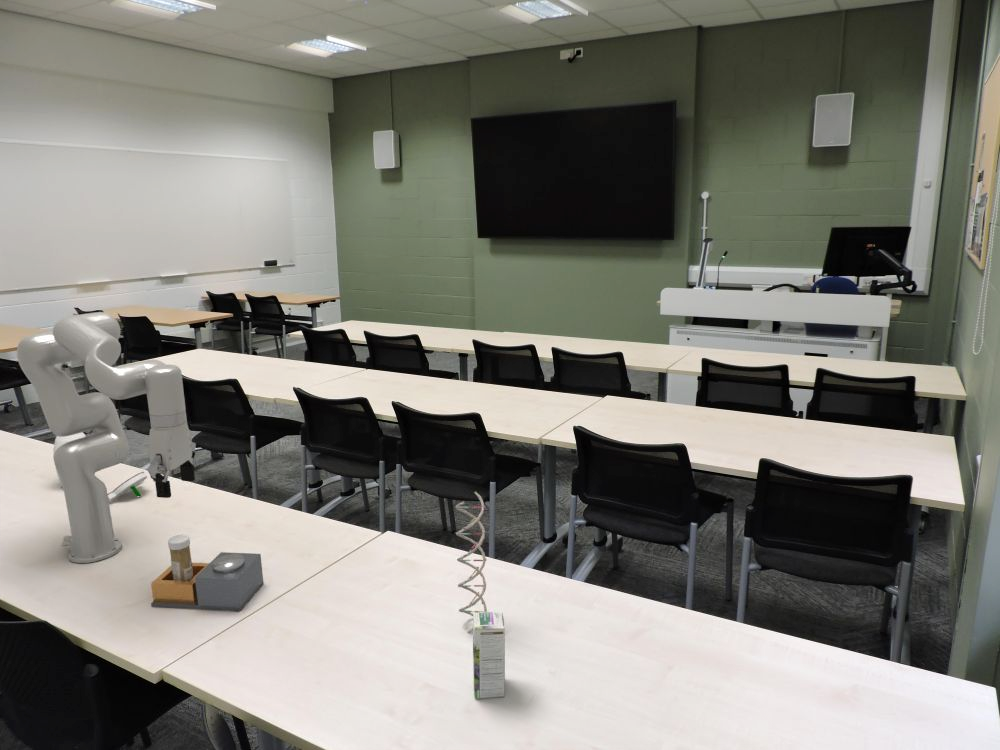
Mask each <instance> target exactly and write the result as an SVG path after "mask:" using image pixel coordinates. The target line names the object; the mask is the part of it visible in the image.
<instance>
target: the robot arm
mask: <svg viewBox="0 0 1000 750" xmlns="http://www.w3.org/2000/svg"><path fill="white" fill-rule="evenodd" d="M121 333H122V332H121V327H120V324H119V322H118V320H117V318H115V317H114V316H113V315H112V314H111V313H108V312H104V311H97V312H95V311H94V312H89V313H88V312H87V313H82V314H73V315H69V316H65V317H63V318H61V319H59V320H57V322H56V323H55V324H54V326H53V328H52V330H48V331H42V332H37V333H33V334H30V335H27V336H25V337H23V338H22V339H21V340H20V341H19V342H18V344H17V346H16V347H17V348H16V357H17V361H18V365H19V367H20V369H21V370H22V372H23V373H24V375H25V377H26V378H27V380H28V381H29V382H30V383H31V385H32V387H33V388H34V390H35V394H36V396H37V399H38V403H39V405H40V407H41V410H42V413H43V416H44V418H45V421H46V423H47V425H48V428H49V430H50V431H51V434H54V436H56V437H57V436H59V437H65V436H70V435H74V434H78V433H81V432H83V433H85V432H88V431H92V430H95V431H96V433H94V434H91V435H87V436H86V435H85V436H86V437H83V438H79V439H76V440H73V441H70V442H67V443H65V444H63V445H61V446H60V447H59V448H58V449H57V450H56V451H55V454H54V458H53V462H54V466H56V467H55V469H56V468H57V471H58V473H59V476H60V478H61V482H62V485H63V488H62V489H63V493H64V499H65V503H66V504H65V505H66V511H67V516H68V522H69V527H70V533H71V534H70V535H69V534H68V535H64V536H63V538H62V541H61V544H60V545H61V547H69V549H70V550H69V551H68V553H67V557H68V560H69V561H70V562H72V563H75V564H76V563H77V564H89V563H94V562H99V561H102V560H105V559H108V558H110V557H112V556H115V555H116V554H117V553H118V552H120V551H121V549H122V548H123V542H122V541H121V540H120V539H118V538H116V537H115V533H114V527H113V521H112V520H113V519H112V515H111V514H112V513H111V508H110V501H109V500H108V488H107V485H106V484H105V483H104V482H103V481H102V480H101V479H100V478H98V477H97V476H96V474H95V473H97V472H100V471H102V470H105V469H108V468H112V467H114V466H116V465H119V464H121V463H124V462H125V461H126V460H127V459H128V457H129V454H130V448H129V442H128V439H127V437H126V434H125V430H124V428H123V425H122V422H121V420H120V417H119V413H118V411H117V409H116V406H115V404H114V402H113V400H116V401H117V400H127V399H130V398H134V397H138V396H141V395H142V396H143V395H146V398H147V399H146V400H147V405H148V406H147V407H148V413H149V420H150V421H149V423H150V427H151V428H150V429H149V435H148V449H149V451H148V452H149V455H148V456H149V465H148V467H147V473H148V474H149V475H150V478H151V479H152V482H154V483H155V493H156V497H157V498H161V499H163V498H165V499H170V498H171V497H172V491H171V482H170V480H168V479H169V475H170V472H171V471H173V470H175V469H177V468H178V467H179V470H180V478H181V481H183V482H194V481H195V480H196V476H195V468H194V464H195V456H196V447H197V446H196V445H197V443H196V442H193V441H192V439H191V433H190V429H189V425H188V420H187V413H186V412H187V411H186V402H185V401H186V399H185V394H184V383H183V377H182V370H181V368H180V367H179V366H178V365H176V364H166V363H164V362H163V361H161V360H158V359H146V360H141V361H137V362H131V363H126V364H125V363H124V364H122V365H117V366H116V365H115V366H113V365H114V364H115V363H116V362H117V361H118V359H119V357H120V356H121V353H122V347H121V343H120V342H119V341H120V340H119V339H120V337H121ZM75 361H83V363H84V373H85V375H86V378H87V380H88V382H89V383H90V386H92V387H93V389H95V390H97V391H98V392H96V391H95V392H89V393H84V394H82V395H81V394H79V393H78V391H77V388H76V386H75V383H74V381H73V379H72V377H70V375H69V374H67V373H66V372H65V371H64V370H62V369H61V368H59V367H57V366H55V365H59V364H65V363H69V362H75ZM111 399H112V400H111ZM57 471H56V472H57ZM162 472H163V475H162V474H161V473H162Z"/></svg>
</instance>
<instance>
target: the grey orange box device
mask: <svg viewBox="0 0 1000 750" xmlns="http://www.w3.org/2000/svg"><path fill="white" fill-rule="evenodd" d="M262 566H263V563H262V556H261V553H250V552H249V553H247V552H246V553H245V552H224V551H223V552H222V551H221V552H220V553H219V554H217V555H216V556H215V557H214V558H213V560H211V561H210V562H192V568H193V578H192V579H191V580H190V581H174V580H173V573H172V565H171V564H170V565H169V566H168V567H167V569H165V570H164V571H163V572H162V573H161V574H159V575H158V576H157V577H156V578H155V579H154V580H153V581H151V583H150V588H151V593H152V599H153V601H151V602H150V606H151V608H162V609H163V608H164V609H165V608H166V609H183V610H184V609H186V610H204V611H209V610H210V611H222V612H223V611H225V612H226V611H229V612H241V611H242V610H243V609H244V608H245V607H246V605H248V604H249V602H251V600H250V599H252V598H253V597H254V596H255V595H256V594H257V592H258V591H260V589H261V588H262V587H263V586H264V584H265V583H264V574H263V567H262ZM260 587H261V588H260ZM255 593H256V594H255ZM254 594H255V595H254Z"/></svg>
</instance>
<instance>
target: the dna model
mask: <svg viewBox="0 0 1000 750" xmlns="http://www.w3.org/2000/svg"><path fill="white" fill-rule="evenodd" d="M474 494H475V495H476V497H477V498H478V500H479V502H480V504H481V506H472V509H480V513H479V514H478V516H477V517H476V516H475V515H473V514H472V513H471V512H469V511H467V510H465V509H470V506H463V505H465V501H462V502H460V503H458V504H456V505H455V506H454V507H455V510H456V511H459V512H461V513H463V514H465V515H467V516H469V517H471V518H472V520H471V521H470V522H469V523H468V524H467V525H466V526H463V527H462V528H461V529H460V530H458V531H457V532H454V533H455V534H456V536H458V537H460V538H462V539H465V540H466V541H469V542H471V543H472V544H473V546H472V547H470V548H471V549H470V550H469V551H468V552H467V553H466V554H464V555H461V556H460V557H458V558H457V559H456V561H457V562H459V563H461V564H463V565H466V566H468V567H471V568H472V569H474V571H473V572H472V574H471V575H470V576H469V577H468V578H467V579H466V580H464V581H462V582H460V583H458V584H457V587H458V588H461V589H464V590H467V591H468V592H471V593H473V594H475V596H474V597H473V598H472V600H471V601H470V602H469V604H468V605H466V606H464V607H461V608H459V609H458V611H459V612H461V613H464V614H466V615H470V616H471V617H473V614H474V613H478V612H488V611H487V604H486V601H485V600H484V598H483V595H484V594H485V592H486V589H487V582H486V578H485V575H484V574H483V572H482V571H483V569H484V568H485V565H486V562H487V560H488V559H487V558H486V554H485V551H484V550H483V548H482V547H481V546H482V545H483V542H484V540H485V537H486V536H485V534H486V531H485V527H484V525H483V524H482V522H481V521H480V519H481V518H482V516H483V514H484V510H485V508H486V507H487V505H485V503H484V500H483V497H482V496H481V495H480V494H479V493H478V492H477V491H474ZM476 523H478V525H479V526H480V528H479V529H481V532H482V533H479V532H478V533H475V532H474V533H467V532H465V531H467V530H469V529H470V528H471V527H474V526H475V524H476ZM464 532H465V533H464ZM468 535H472V536H475V535H476V536H477V535H480V539H479V541H475V540H473V539H472V538H470V537H468ZM477 550H478V551H480V553H481V557H482V559H473V562H482V564H481V566H475V565H474V564H472V563H470V562H472V559H465V558H467V557H469V556H470V555H473V553H475V552H476V551H477ZM479 575H480V577H481V578H482V583H483V584H481V585H480V584H477V585H470V584H469V585H468V584H467V583H469V582H471V581H473V580H474V579H475V578H477V577H478V576H479ZM466 584H467V585H466ZM471 587H481V588H482V591H481V593H480V591H478V592H477V591H476V590H474V589H473V588H471ZM477 597H478V598H477ZM480 600H481V604H482V605H483V608H484V610H467V609H469V608H471V607H473V606H475V605H477V603H478V602H479V601H480ZM467 633H468V634H470V633H473V627H472V628H471V629H469V630H468V631H467Z"/></svg>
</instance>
